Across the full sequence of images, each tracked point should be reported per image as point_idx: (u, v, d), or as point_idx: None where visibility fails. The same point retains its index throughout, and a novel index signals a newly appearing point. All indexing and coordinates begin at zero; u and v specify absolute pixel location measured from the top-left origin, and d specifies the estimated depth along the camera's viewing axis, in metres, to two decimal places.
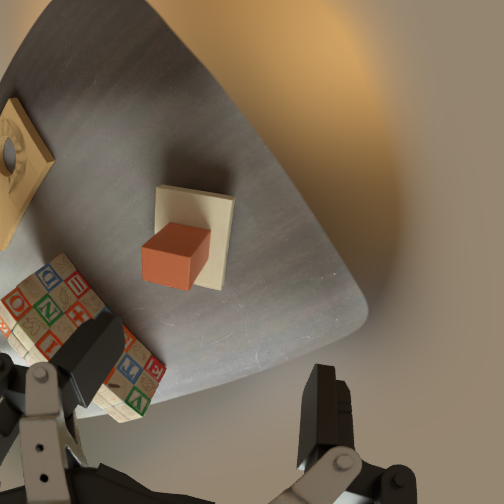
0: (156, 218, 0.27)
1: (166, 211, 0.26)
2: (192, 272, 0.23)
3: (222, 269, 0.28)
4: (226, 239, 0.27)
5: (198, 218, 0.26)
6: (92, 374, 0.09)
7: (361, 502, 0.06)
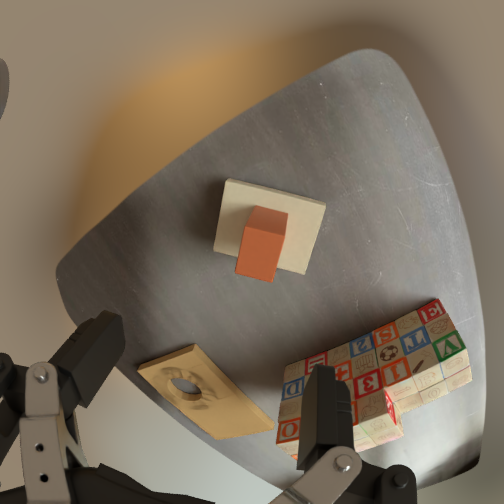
0: None
1: (236, 245, 0.28)
2: (268, 228, 0.22)
3: (300, 200, 0.26)
4: (265, 191, 0.26)
5: (243, 215, 0.27)
6: (92, 374, 0.09)
7: (361, 502, 0.06)
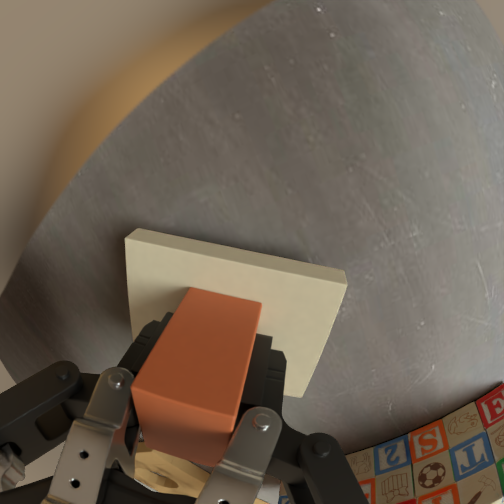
0: None
1: None
2: (194, 385, 0.08)
3: (286, 274, 0.11)
4: (207, 257, 0.11)
5: (170, 305, 0.13)
6: None
7: (285, 469, 0.07)
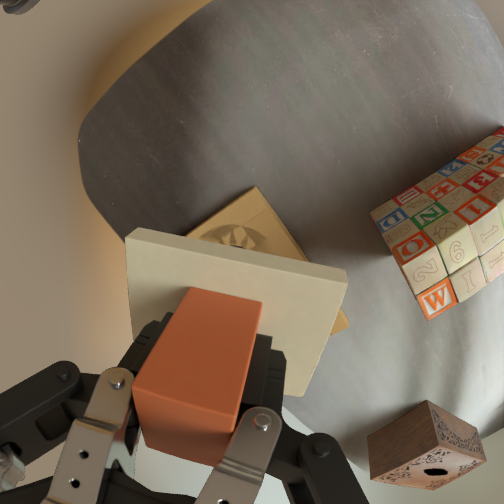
0: None
1: None
2: (195, 385, 0.08)
3: (287, 274, 0.11)
4: (208, 256, 0.11)
5: (170, 304, 0.13)
6: None
7: (284, 469, 0.07)
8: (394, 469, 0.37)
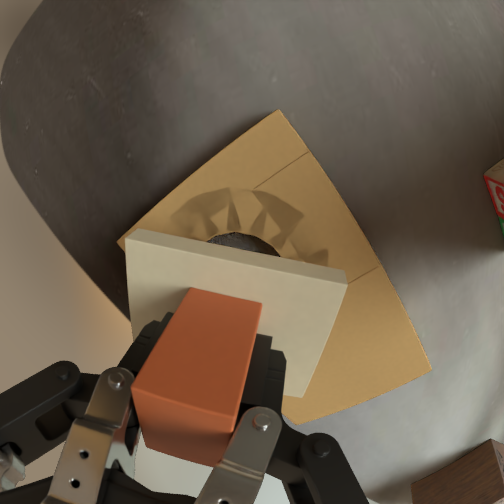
0: None
1: None
2: (194, 386, 0.08)
3: (287, 275, 0.11)
4: (207, 257, 0.11)
5: (170, 306, 0.13)
6: None
7: (284, 469, 0.07)
8: None
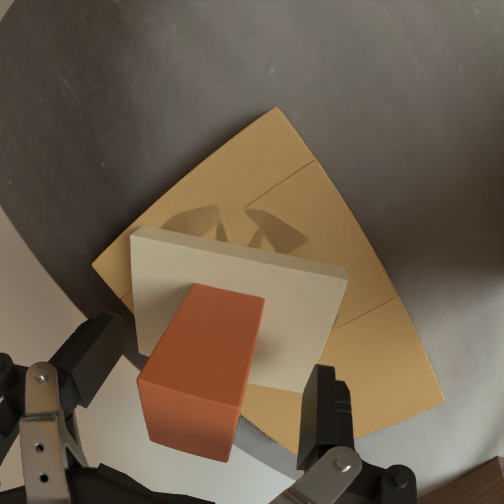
0: None
1: None
2: (199, 377, 0.08)
3: (289, 270, 0.11)
4: (211, 253, 0.12)
5: (174, 301, 0.13)
6: (92, 374, 0.09)
7: (361, 502, 0.06)
8: None
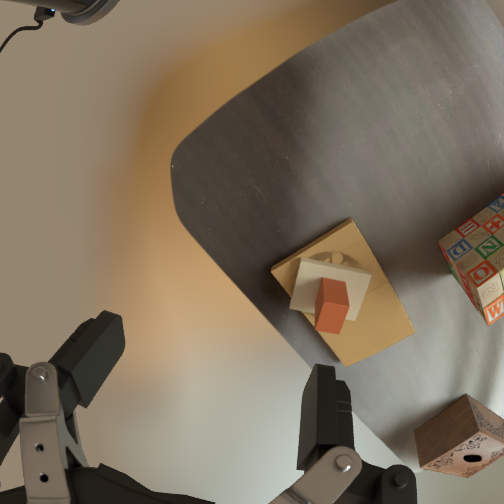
0: (311, 312, 0.38)
1: (306, 304, 0.38)
2: (338, 300, 0.32)
3: (353, 272, 0.35)
4: (330, 267, 0.35)
5: (313, 284, 0.37)
6: (92, 374, 0.09)
7: (361, 502, 0.06)
8: (441, 456, 0.39)
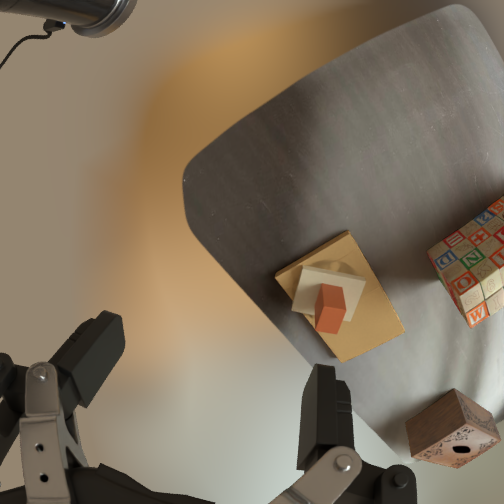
0: (311, 313, 0.42)
1: (307, 307, 0.42)
2: (336, 305, 0.36)
3: (350, 279, 0.39)
4: (328, 274, 0.39)
5: (313, 289, 0.41)
6: (92, 374, 0.09)
7: (361, 502, 0.06)
8: (431, 446, 0.44)
